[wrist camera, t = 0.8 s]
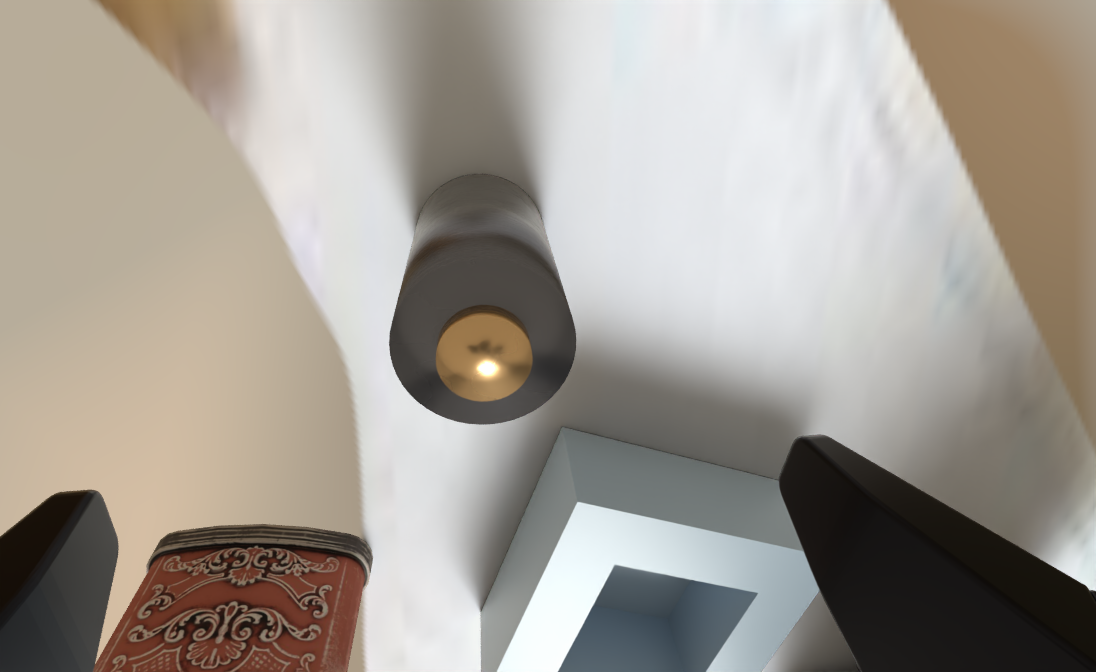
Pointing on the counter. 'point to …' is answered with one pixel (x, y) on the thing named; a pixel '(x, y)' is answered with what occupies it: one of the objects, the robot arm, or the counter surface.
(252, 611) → the red decorated tea tin
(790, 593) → the box
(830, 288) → the counter surface
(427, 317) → the cell
